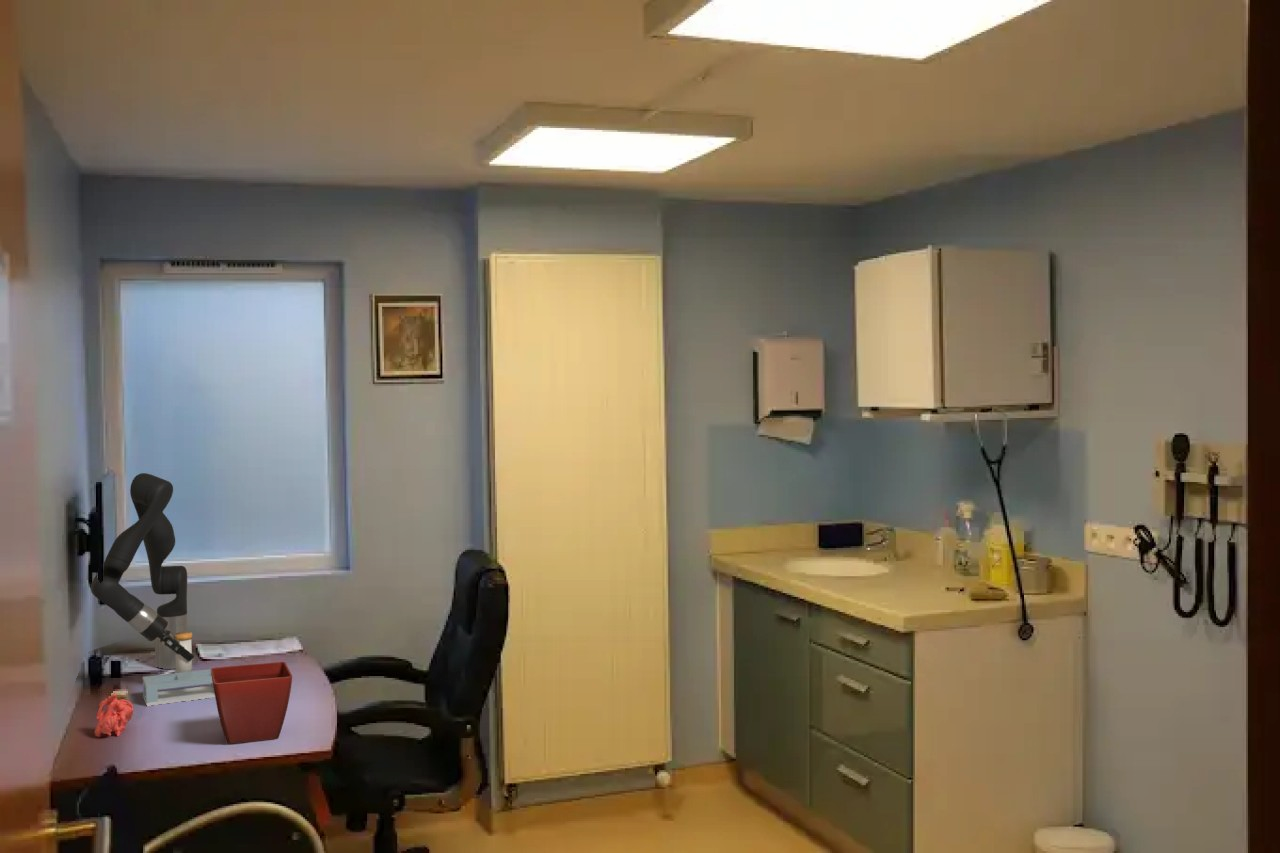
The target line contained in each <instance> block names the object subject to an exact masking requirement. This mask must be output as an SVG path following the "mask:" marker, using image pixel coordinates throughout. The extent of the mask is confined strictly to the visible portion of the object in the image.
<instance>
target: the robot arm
mask: <svg viewBox="0 0 1280 853" xmlns="http://www.w3.org/2000/svg"><path fill="white" fill-rule="evenodd" d="M129 491H130V499H131V501H132V503H133V507H134V509H135V511H136V515H137V517H138V520H137V521H136V522H135V523H134V524H132V525H130V526H129V527H128V528H126V529H125V530H124V531H122V532H121V533H120V534H119V535H118V536H117V537H116V539H115V540H114V542H113V543H112V545H111V547H110V549H109V550H108V552H107V554H106V557H105V560H104V562H103V563H104V577H103V581H102V582H101V583H100V582H99V580H98V578H97V575H96V574H95V576H94V578H93V580H92V582H91V585H90V591H91V593H92V595H93V596H94V597H95V598H96V599H97V600H99V601H100V602H102V603H103V604H104V605H105V606H107V607H108V608H110V609H111V610H113V611H114V612H115V613H116V614H117V615H118V617H121V619H122V620H123V621H125V622H127V624H129V626H130V627H131V628H132V629H134V630H135V631H136V632H137V633H139V634H140V635H141V636H142V637H143V638H145V639H146V640H147V641H149V642H153V641H154V656H155V657H154V658H155V659H154V662H155V663H154V664H155V666H156V667H160V668H163V669H162V670H175V669H176V654H178V655H181V656H182V657H184V658H185V659H186V660H187V661H191V660H192V661H193V659H194V657H195V656H194V654H193V653H192V654H191V653H190V652H189V651H188V650H186V649H185V647H184V646H182V645H181V644H180V641H179V640H177V639H176V638H175V634H176V633H181V632H189V631H188V598H187V597H188V571H187V568H186V566H184V565H166V566H164V565H163V563H164V561H165V560H166V559H167V558H168V557H169V555H170V554H171V553H172V551H173V550H174V548H175V545H176V536H175V532H174V526H173V525H172V523H171V521H170V520H169V518H168V517H167V516H166V515H165V513H164V510H165V509H166V508H167V506H168V505H169V503H170V501H171V500H172V496H173V493H174V486H173V484H172V482H170V481H168V480H166V479H164V478H161V477H158V476H157V475H153V474H150V473H146V472H145V473H144V472H141V473H139V474H136V476H135V477H134V478H133V479H132V481H131V483H130V488H129ZM142 542H143V543H144V544H143V545H144V549H145V551H146V552H145V553H146V555H147V562H148V566H149V574H150V575H149V576H150V584H151V588H152V591H153V593H155V594H156V595H175V598H173V599H172V600H171V601H169V602H166V603H163V604H162V605H159V606H158V607H157V609H156V610H154V609H153V608H151V607H150V606H148V605H147V604H145V603H144V602H143V601H141V600H140V599H139V598H138V597H136V596H134V595H133V594H131V593H130V592H129V591H128V590H126V588H125V587H124V586H123V585H121V584H120V581H121V579H122V577H123V575H124V574H125V572H126V571H127V570H128V569H129V567H130V566H131V563H132V561H133V559H134V557H135V555H136V553H137V551H138V550H139V548H140V546H141V545H142ZM177 646H179V647H180V648H179V649H178V650H176V647H177ZM156 667H155V668H156ZM160 668H159V669H160Z"/></svg>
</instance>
